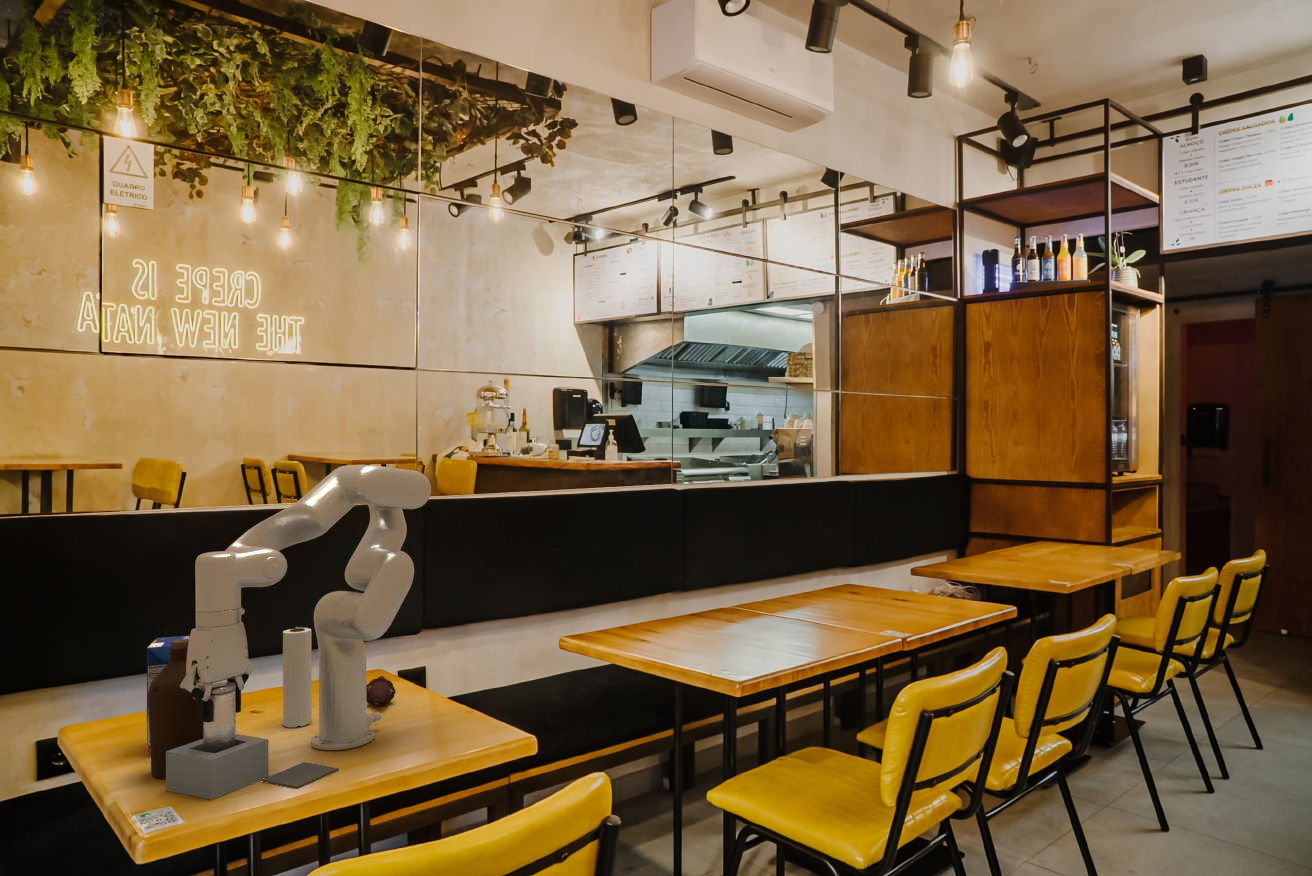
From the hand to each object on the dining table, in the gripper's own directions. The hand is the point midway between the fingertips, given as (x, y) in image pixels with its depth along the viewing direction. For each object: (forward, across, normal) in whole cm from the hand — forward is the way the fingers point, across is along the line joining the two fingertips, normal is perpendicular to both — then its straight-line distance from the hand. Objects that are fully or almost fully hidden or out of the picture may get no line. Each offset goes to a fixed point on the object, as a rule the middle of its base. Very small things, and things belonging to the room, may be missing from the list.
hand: (219, 715), depth 158 cm
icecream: (+13, -51, -8) cm, 53 cm away
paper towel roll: (+13, -32, -15) cm, 38 cm away
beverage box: (+13, -10, -28) cm, 33 cm away
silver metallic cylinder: (+9, 0, 0) cm, 9 cm away
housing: (+12, 0, 0) cm, 12 cm away
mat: (+12, -8, +11) cm, 19 cm away
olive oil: (+13, -2, -13) cm, 18 cm away
